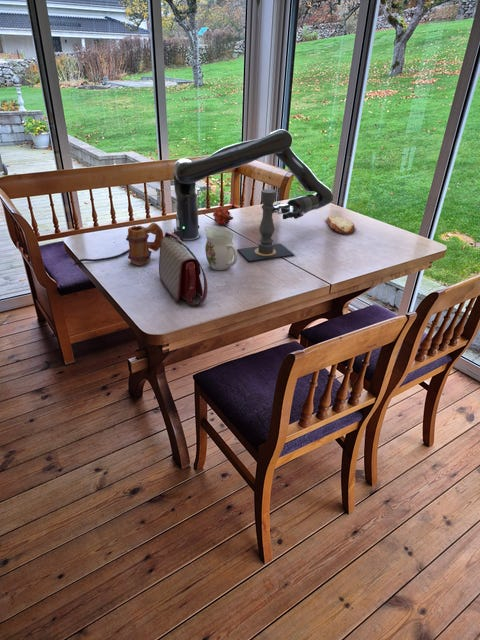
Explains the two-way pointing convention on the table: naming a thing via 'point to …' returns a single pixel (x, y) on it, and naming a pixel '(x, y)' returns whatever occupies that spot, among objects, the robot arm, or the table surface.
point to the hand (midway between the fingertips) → (275, 214)
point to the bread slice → (340, 225)
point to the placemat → (254, 255)
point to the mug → (143, 242)
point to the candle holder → (267, 221)
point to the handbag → (180, 270)
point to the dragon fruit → (222, 215)
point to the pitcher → (220, 248)
